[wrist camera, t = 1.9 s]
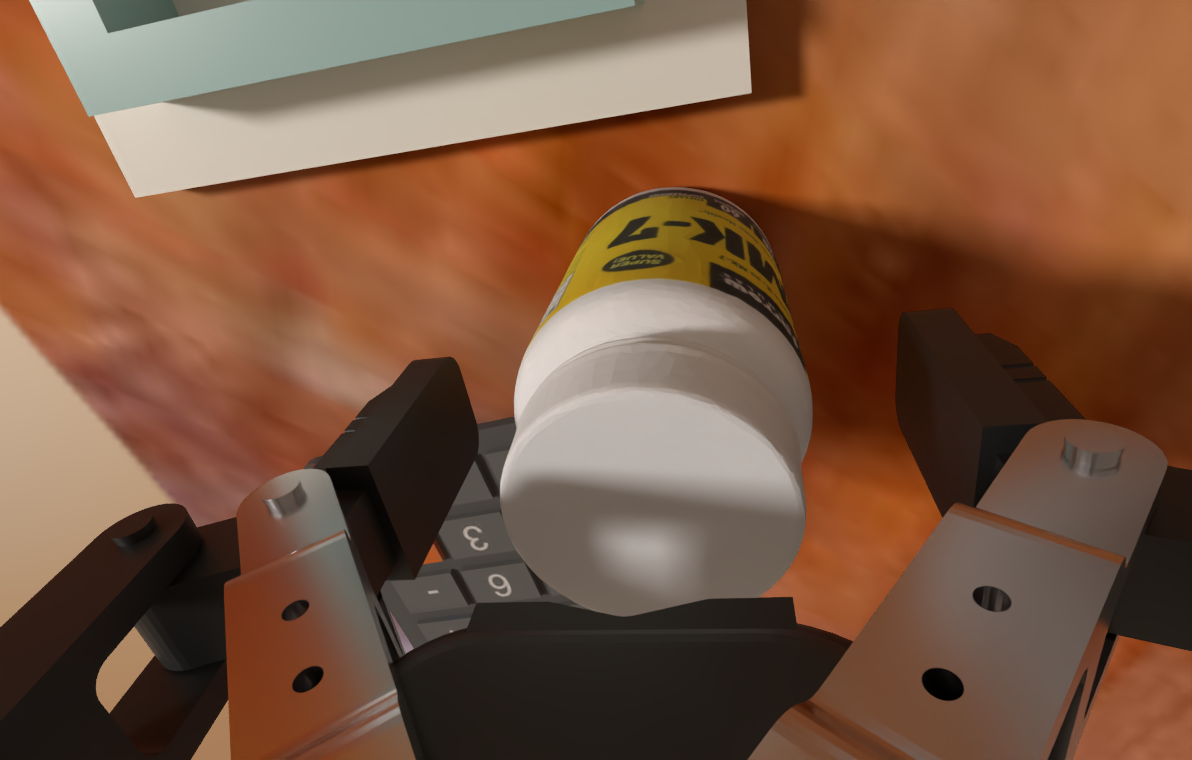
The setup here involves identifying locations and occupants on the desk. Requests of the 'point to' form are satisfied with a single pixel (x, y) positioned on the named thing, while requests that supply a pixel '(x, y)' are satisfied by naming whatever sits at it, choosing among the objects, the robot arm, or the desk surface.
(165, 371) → the desk surface
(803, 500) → the supplement bottle
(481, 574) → the calculator
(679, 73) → the dock socket
